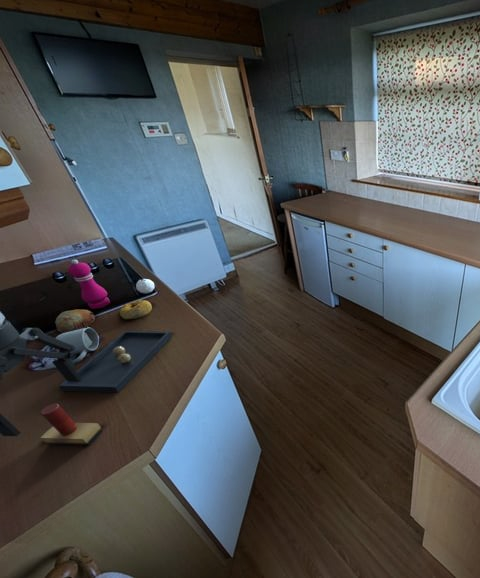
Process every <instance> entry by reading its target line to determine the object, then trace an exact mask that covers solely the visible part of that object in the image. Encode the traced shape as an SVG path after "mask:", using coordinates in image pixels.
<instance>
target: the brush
mask: <svg viewBox="0 0 480 578" xmlns="http://www.w3.org/2000/svg"><path fill="white" fill-rule="evenodd" d="M40 415H42V417H44V419H45V420H46V421H47V422H48V423H49V424H50V425H51V427H50V428H49V429H48V430H47V431H45V432H44V433H43V434H42V435H41V436H40V437H39V439H40V440H41V441H42V442H44V443H47V444H48V445H56V446H57V445H60V446H91V444H92V443H93V442H94V441H95V440H96V439H97V438H98V436H100V434H101V433H102V432H103V431H102V430H101V429H102V427H101V426H100V424H99V423H97V422H75V421H74V420H73V419H72V418H71V417H70V416H69V415H68V414H67V412H65V410H64V409H63V408H62V406H60V405H59V404H58V403H52V404H49V405H47V406H45V407H44V408H42V410H41V411H40Z"/></svg>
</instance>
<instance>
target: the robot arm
mask: <svg viewBox="0 0 480 578" xmlns="http://www.w3.org/2000/svg"><path fill="white" fill-rule="evenodd" d="M55 338H56V337H53V336H50V335H48V334H45V333H44V332H43V331H42V330H41V329H40V328H39V327H24V328H22V330H21V333H19V332H18V330H17V329H16V328H15V327H14V325H13V324H12V323H11V322H10V321H9V320H7V319H6V317H5V315H4V314H3V313H2V311H0V381H2V379H3V378H4V377H3V376H4V373H8V372H10V371H11V370H12V369H13V368H14V367H15V366H18V365H19V364H21V363H23V362H24V359H25V357H32V358H33V357H35V358H44V359H54V360H53V361H52V362H51V363H52V364H53V366H55V368H56V369H57V371H59V373H60V374H61V375H62V377H63V378H64V379H65V380H67V381H68V382H80V381H81V380H82V379H81V378H80V376H79V375H78V374H77V372H76V371H77V370H75V367H76V363H75V364H74V363H73V360H72V358H73V356H74V354H71V353H70V352H71V351H74V350H75V346H73V345H70V344H68V343H65V342H63V341H60V340H58V339H55ZM28 341H33V342H36V343H39V344H41V345H44V346H47V347H50V348H51V349H54V348H55V349H57V350H60V351H59V352H56V351H49V350H46V351H45V350H40V349H39V350H38V349H29V348H27V342H28ZM55 349H54V350H55ZM0 434H1V435H2V436H3V437H18V436H19V435H20V434H21V431H20V430H19V429H17V428H16V426H15V425H13V423H11V422H10V421H9V420H8V419H7V418H5V416H3V414H2V413H0Z"/></svg>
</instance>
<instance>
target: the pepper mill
mask: <svg viewBox="0 0 480 578" xmlns="http://www.w3.org/2000/svg"><path fill="white" fill-rule="evenodd" d="M70 263H71V264H70V265H69V266H68V268H67V273H68V274H69V275H70V276H72V277H73V278H74V280H75V281H76V282H78V283H79V285H80V288H81V294H80V295H81V298H82V300H83V301H84V302H85V303H87V305H88V307H89V308H90V309H92V310H97V309H101V308H104V307H106V306H109V304H110V303H111V300H110V299H109V297H107V296H108V292H107V290H105V288H104V287H102V285H101V286H100V285H99V284H98V283H97V282H96V281H95V280H94V278H93V277H94V275H93V273H92V272H91V271H92V269H91V268H92V267H90V265H89V264H88V263H86V262H79V260H77V259H72V260H71V262H70Z"/></svg>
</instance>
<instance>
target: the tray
mask: <svg viewBox="0 0 480 578" xmlns="http://www.w3.org/2000/svg"><path fill="white" fill-rule="evenodd" d="M172 338H173V336H172V334H171V332H170V331H148V330H147V331H144V330H140V331H139V330H124V331H123V332H122V333H120V334H119V335H118V336H117V337H116V338H114V339H113V340H112V341H110V343H108V344H107V345H106V346H105V347H104V348H102V349H101V350H100V351H99V352H98V353H97V354H94V356H93V357H92V358H91V359H89V360H88V361H87V362H85V363H84V364H83V365H82V366H81V367H80V368H78V369H77V370H75V371H76V372H77V374H78V375H79V376H80V378H81V379H82V380H81V381H80V382H68V381H67V380H66V379H65V380H64V381H63V382H62V383H60V384H59V387H60V389H61V390H62V391H63V392H78V393H79V392H81V393H82V392H83V393H84V392H85V393H120V392H121V391H122V390H123V389H124V388H125V386H126V385H128V383H130V381H131V380H132V379H133V378H135V376H137V374H138V373H139V372H140V371H141V370H142V369H143V368H144V367H145V366H146V365H147V363H149V362H150V360H152V359H153V358H154V356H155V355H157V353H158V352H159V351H160V350H161V349H162V348H163V347H164V346H165V345H166V344H167V343H168V342H169V340H171V339H172ZM118 346H122V347H124V348H125V353H127V354H129V355H130V356H131V359H130V361H129V362H127V363H120V362H119V361H118V357H119V356H115V355H114V354H113V349H114V348H116V347H118Z"/></svg>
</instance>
